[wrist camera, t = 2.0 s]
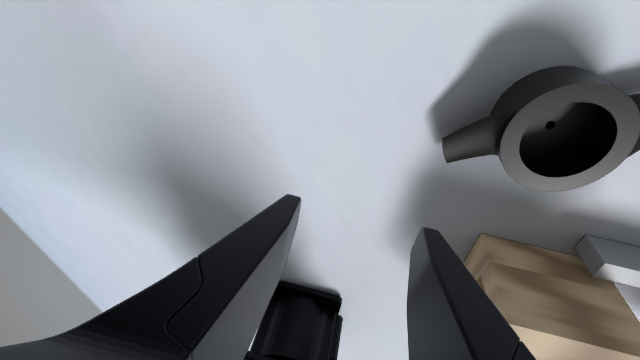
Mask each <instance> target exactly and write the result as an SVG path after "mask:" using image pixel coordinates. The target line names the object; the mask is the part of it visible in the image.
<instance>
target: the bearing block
mask: <svg viewBox="0 0 640 360" xmlns="http://www.w3.org/2000/svg"><path fill="white" fill-rule="evenodd" d="M463 264H464V265H465V267H466V268H467V269H468V271H469V272H470V273H471V275H472V276H473V277H474V279H475V280H476V281H477V282H478V284H479V285H480V286H481V288H482V289H483V290H484V292H485V293H486V294H487V296H488V297H489V298H490V300H491V301H492V302H493V304H494V305H495V306H496V307H497V309H498V310H499V311H500V313H501V314H502V315H503V317H504V318H505V319H506V321H507V322H508V323H509V325H510V326H511V327H512V328H513V330H514V331H515V332H516V334H517V335H518V336H519V338H520V341H522V342H523V343H524V344H525V345H526V347H527V348H528V349H529V351H530V352H531V353H532V355H533V356H534V357H535V358H536V360H640V322H639V321H638V319H637V318H636V316H635V315H634V313H633V312H632V310H631V309H630V307H629V306H628V304H627V303H626V301H625V300H624V298H623V297H622V295H621V294H620V292H619V291H618V289H617V288H616V286H615V285H614V283H613V282H612V281H610V280H606V279H601V278H597V277H593V276H592V274H591V272H590V271H589V269H588V267H587V266H586V264H585V263H584V261H583V259H582V258H581V257H578V256H573V255H569V254H565V253H561V252H557V251H553V250H548V249H544V248H540V247H536V246H532V245H528V244H523V243H519V242H515V241H511V240H507V239H503V238H498V237H494V236H490V235H486V234H482V233H481V234H480V236H479V237H478V239H477V241H476V242H475V244H474V246H473V247H472V249H471V251H470V253H469V254H468V256H467V258H466V259H465V261H464V263H463ZM520 341H519V342H520Z"/></svg>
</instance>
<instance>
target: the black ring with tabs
mask: <svg viewBox="0 0 640 360" xmlns="http://www.w3.org/2000/svg"><path fill="white" fill-rule="evenodd" d="M549 121H550V122H549ZM547 122H549V123H547ZM442 145H443V153H444V157H445V160H446V162H447V163H450V162H454V161H458V160H463V159H468V158H473V157H479V156H486V155H498V157H499V159H500V161H501V163H502V165H503V167H504V169H505V170H506V172H507V173H508V174H509V176H510V177H511V178H513V179H514V180H515V181H516V182H518V183H520V184H521V185H523V186H526V187H528V188H531V189H535V190H541V191H564V190H570V189H575V188H578V187H582V186H585V185H587V184H590V183H592V182H594V181H597V180H598V179H600V178H602V177H604V176H605V175H607V174H609V173H610V172H611V171H613V170H614V169H615V168H616V167H618V166H619V165H620V164H621V163H622V162H623V161H624V160H625V159H626V158H627V157H629V156H631V155H632V154H634V153H635V152H637V151H639V150H640V94H635V95H627V94H626V93H624V92H623V91H621V90H619V89H618V88H616V87H614V86H613V85H611V84H610V83H608V82H606V81H605V80H603V79H601V78H600V77H598V76H596V75H595V74H593V73H591V72H590V71H587V70H585V69H582V68H578V67H571V66H557V67H550V68H546V69H542V70H539V71H536V72H534V73H531V74H529V75H527V76H525V77H524V78H522V79H520V80H519V81H517V82H516V83H514V84H513V85H512V86H511V87H510V88H508V89H507V90H506V91H505V92H504V93H503V95H502V96H501V97H500V98H499V100H498V101H497V103H496V104H495V106H494V108H493V110H492V112H491V115H490V116H489V117H486V118H484V119H481V120H479V121H476V122H474V123H472V124H470V125H468V126H465V127H463V128H461V129H459V130H458V131H456V132H454V133H452V134H450V135H448V136H446V137H444V138H443V139H442Z"/></svg>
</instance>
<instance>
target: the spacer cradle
mask: <svg viewBox="0 0 640 360" xmlns="http://www.w3.org/2000/svg"><path fill="white" fill-rule="evenodd" d="M575 248H576V250H577V251H578V253H579V254H580V256H581V258H582V259H583V261H584V263H585V264H586V266H587V267H588V269H589V271H590V272H591V274H592V276H593V277H597V278H601V279H606V280H610V281H614V282H618V283H622V284H626V285H630V286H634V287H639V288H640V247H637V246H633V245H628V244H624V243H620V242H616V241H611V240H607V239H603V238H599V237H594V236H590V235H585V236H584V237H583V239H582V240H581V241H580V242H579V243H578V245H577V246H576V247H575Z"/></svg>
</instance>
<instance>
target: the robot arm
mask: <svg viewBox="0 0 640 360" xmlns="http://www.w3.org/2000/svg"><path fill="white" fill-rule="evenodd" d="M300 206H301V198H300V197H298V196H294V195H290V194H287V195H285V196H283V197H282V198H281V199H279V200H278V201H276V202H275V203H273V204H272V205H270V206H269V207H267V208H266V209H265V210H263V211H262V212H260V213H259V214H257V215H256V216H254V217H253V218H252V219H250V220H249V221H247V222H246V223H244V224H243V225H241V226H240V227H239V228H237V229H236V230H234V231H233V232H231V233H230V234H228V235H227V236H226V237H224V238H223V239H221V240H220V241H218V242H217V243H215V244H214V245H212V246H211V247H210V248H208V249H207V250H205V251H204V252H202V253H201V254H199V255H198V258H197V257H195V258H193V259H192V260H191V261H189V262H188V263H186V264H185V265H183V266H182V267H180V268H179V269H177V270H176V271H174V272H173V273H171V274H169V275H168V276H166V277H165V278H163V279H161V280H160V281H158V282H156V283H155V284H153V285H151V286H149V287H148V288H146V289H144V290H143V291H141V292H139V293H137V294H135V295H134V296H132V297H130V298H128V299H126V300H125V301H123V302H121V303H119V304H117V305H116V306H114V307H112V308H110V309H108V310H107V311H105V312H103V313H101V314H99V315H98V316H96V317H94V318H92V319H90V320H89V321H87V322H85V323H83V324H81V325H79V326H77V327H75V328H73V329H71V330H68V331H66V332H64V333H61V334H58V335H55V336H53V337H49V338H46V339H41V340H37V341H31V342H26V343H20V344H14V345H9V346H3V347H0V360H337V355H338V348H339V341H340V334H341V328H342V321H343V318H342V317H341V316H340V315H338V313H339V310H340V307H341V303H342V299H341V298H340V297H339V296H336V295H332V294H328V293H324V292H320V291H316V290H312V289H308V288H305V287H301V286H297V285H293V284H289V283H285V282H281V281H279V280H280V277H281V275H282V272H283V269H284V266H285V263H286V260H287V257H288V253H289V250H290V247H291V244H292V240H293V237H294V234H295V230H296V227H297V223H298V218H299V212H300ZM259 324H260V325H259ZM258 326H259V327H258ZM407 327H408V348H409V360H536V358H535V357H534V356H533V355H532V353H531V352H530V351H529V349H528V348H527V347H526V345H525V344H524V343H523V342H522V341H520V338H519V336H518V335H517V334H516V332H515V331H514V330H513V328H512V327H511V326H510V325H509V323H508V322H507V321H506V319H505V318H504V317H503V315H502V314H501V313H500V311H499V310H498V309H497V307H496V306H495V305H494V304H493V302H492V301H491V300H490V298H489V297H488V296H487V294H486V293H485V292H484V290H483V289H482V288H481V286H480V285H479V284H478V282H477V281H476V280H475V279H474V277H473V276H472V275H471V273H470V272H469V271H468V269H467V268H466V267H465V265H464V264H463V263H462V261H461V260H460V259H459V258H458V256H457V255H456V254H455V252H454V251H453V250H452V248H451V247H450V246H449V244H448V243H447V242H446V240H445V239H444V238H443V236H442V235H441V234H440V233H439V231H437V230H434V229H430V228H426V227H423V228H422V229H421V230H420V232H419V234H418V236H417V238H416V241H415V243H414V245H413V247H412V250H411V255H410V268H409V281H408V294H407ZM257 329H258V330H257ZM256 331H257V333H256ZM255 333H256V336H255V338H254V335H255ZM253 338H254V341H253V344H252V346H251V349H250V351H248V349H249V346H250V344H251V342H252V340H253ZM519 341H520V342H519Z"/></svg>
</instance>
